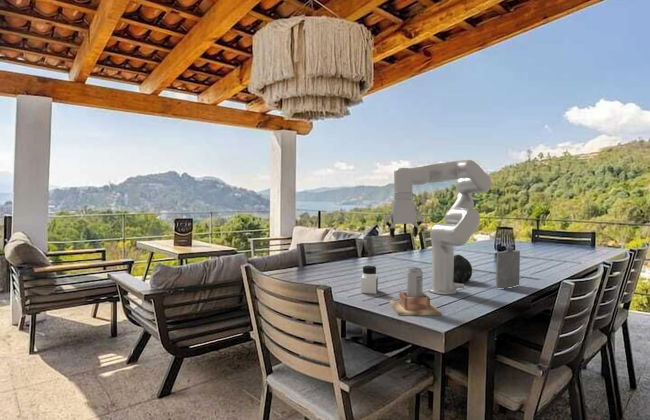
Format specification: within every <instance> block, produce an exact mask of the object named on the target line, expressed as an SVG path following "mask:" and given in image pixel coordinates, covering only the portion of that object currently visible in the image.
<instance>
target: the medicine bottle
mask: <svg viewBox="0 0 650 420" xmlns="http://www.w3.org/2000/svg"><path fill="white" fill-rule="evenodd" d="M378 276H379V275H377V266H375V265H372V264H371V265H369V264H368V265H364V266H363V267H362V276H361V277H360V293H361V294H371V295H372V294H374V295H375V294H376V295H377V293H378V286H379V283H378V281H379V277H378Z"/></svg>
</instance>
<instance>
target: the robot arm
mask: <svg viewBox="0 0 650 420" xmlns="http://www.w3.org/2000/svg"><path fill="white" fill-rule="evenodd" d="M453 180H455V181H456V183H455V188H456V194H457V196H456V197H457V198H456V200H455V202H454V203H453V204H452V205H451V207H450V208H449V209H448V211H447V212H446V214H445V216H444V222H445V223H444V222H443V223H441V222H440V223H436V224H434V225H432V227H431V228H430V231H429V232H430V234H429V235H430V242H431V249H432V250H431V251H432V254H431V257H432V259H431V263H432V265H431V286H429V287H428V291H429V293H433V294H437V295H446V296H447V295H455V294H457V292H458V290H457V289H464V288H465V284H464V283H460V282H454V281H453V274H454V256H455V254H454V253H455V252H454V250H453V247H452V246H456V247H461V246H464V245H466V243H468V242H469V239H470V238H471V237H472V236H473V234H474V233H475V231H476V230H477V228H478V226H479V225H480V222H481V214H480V213H479V211H478V210H477V209H475V208H474V207H475V201H474V200H473V197H472V194H483V193H484V194H485V193H488V192H489V191H490V189H491V187H492V180H491V178H490V176H489V175H488V174H487V173H486V171H484V169H483V167H481V166H480V165H479V164H478V163H477V162H476V161H474V160H472V159H465V160H454V161H447V162H446V161H445V162H441V163H440V162H438V163H432V164H427V165H423V166H422V165H421V166H416V167H399V168H397V167H396V168H395V170H394V173H393V188H394V189H393V192H394V195H393V196H394V198H393V200H392V202H391V208H390V214H387V215H386V216H385V217H383V221H384V223H385V225H386V226H387V227H388V228H389V236H390V237H391V238H393V239H394V238H395V226H396V225H397V224H398V225H399V224H402V225H404V224H405V225H406V224H411V225H413V227H412V236H413V237H414V238H417V236H418V234H419V227H420V226H421V225H422V223H423V221H424V217H425V216H422V215H420V214H418V213H417V211H416V204H415V199H414V198H417V197H416V195H417V194H416V193H413V186H422V185H425V184H427V183H428V184H429V183H432V184H433V183H434V184H435V183H444V182H448V181H453ZM417 218H418V221H417ZM389 219H390V222H391V223H390V222H389Z"/></svg>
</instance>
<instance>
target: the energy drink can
mask: <svg viewBox="0 0 650 420" xmlns="http://www.w3.org/2000/svg"><path fill="white" fill-rule="evenodd" d="M423 273H424V272H423V271H422V268H421V267H419V266H409V267H408V269H407V271H406V292H407V297H422V292H423V279H424V278H423V276H424V275H423Z"/></svg>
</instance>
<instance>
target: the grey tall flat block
mask: <svg viewBox="0 0 650 420" xmlns="http://www.w3.org/2000/svg"><path fill="white" fill-rule="evenodd" d="M520 261H521V250H518V249H517V250H516V249H515V247H514V246H511V245H510V246H507V245H506V246H505V250H502V251H497V252H496V277H495V278H496V282H495V283H496V285H495V287H496V288H508V287H513V286H516V285H519V286H520V265H521V263H520Z"/></svg>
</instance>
